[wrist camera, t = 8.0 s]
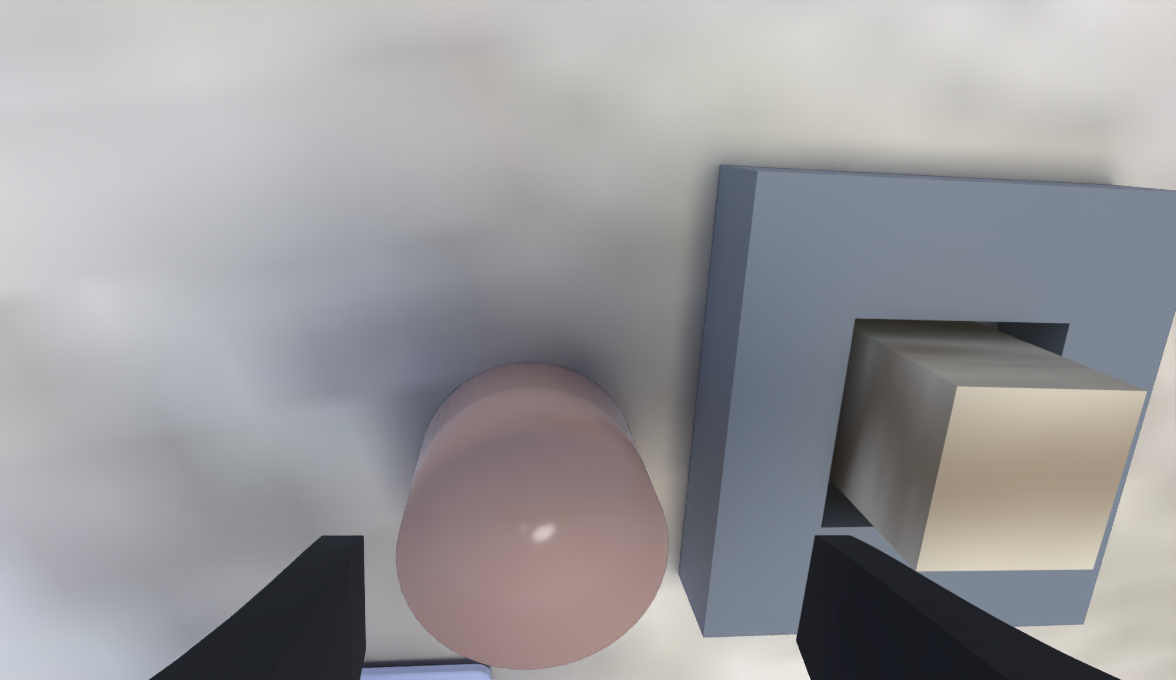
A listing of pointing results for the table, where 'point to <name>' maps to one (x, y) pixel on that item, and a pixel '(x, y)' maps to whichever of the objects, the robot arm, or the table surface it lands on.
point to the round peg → (530, 521)
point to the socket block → (891, 291)
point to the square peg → (980, 446)
